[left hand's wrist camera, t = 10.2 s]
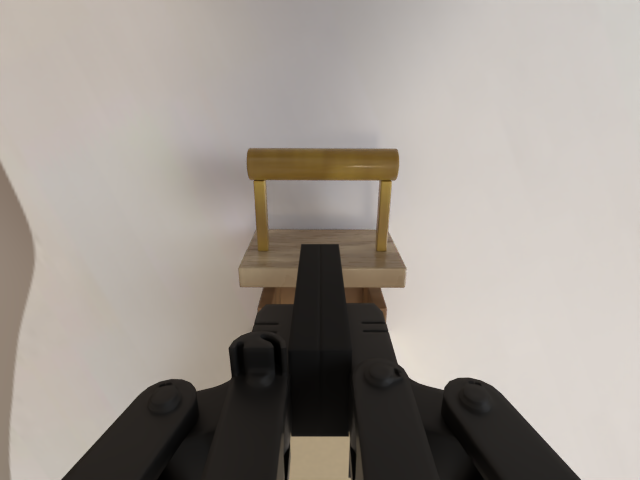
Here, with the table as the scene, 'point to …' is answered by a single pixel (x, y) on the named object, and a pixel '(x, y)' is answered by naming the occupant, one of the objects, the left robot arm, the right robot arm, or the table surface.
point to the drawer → (355, 245)
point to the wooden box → (319, 458)
